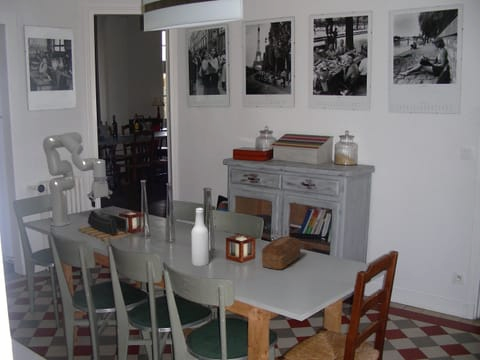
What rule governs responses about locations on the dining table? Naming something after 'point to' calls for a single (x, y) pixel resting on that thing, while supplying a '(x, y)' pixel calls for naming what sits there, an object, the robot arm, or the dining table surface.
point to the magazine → (102, 223)
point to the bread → (281, 252)
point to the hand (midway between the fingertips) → (100, 205)
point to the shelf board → (101, 235)
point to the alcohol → (199, 240)
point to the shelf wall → (120, 222)
